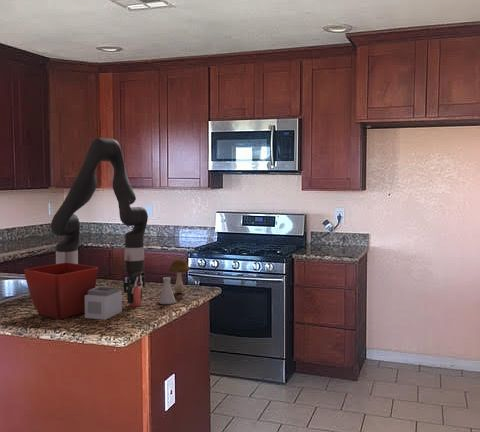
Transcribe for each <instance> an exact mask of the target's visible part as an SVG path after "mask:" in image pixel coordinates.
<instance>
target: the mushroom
mask: <svg viewBox="0 0 480 432" xmlns="http://www.w3.org/2000/svg"><path fill="white" fill-rule="evenodd" d="M190 269H191V268H190V266H189V265H188V263H187V261H186V260H185V259H183V258H176V259H174V260H173V261H172V262H171V264H170V265H169V266H168V271H169V272H172V273H176V281H175V285H174V292H175V293H177V294H182V293H183V292H184V291H185V290H184V289H185V288H184V283H183V279H182V278H183V277H182V273H187V272H189V271H190Z"/></svg>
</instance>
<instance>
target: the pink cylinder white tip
mask: <svg viewBox="0 0 480 432" xmlns="http://www.w3.org/2000/svg"><path fill="white" fill-rule="evenodd" d="M131 289H132V288H131ZM141 305H142V299H141V286H139V285H137V284H136V287H135V288H134V291H133V303H128V306H129V307H131V308H132V307H133V308H134V307H135V308H136V307H141Z"/></svg>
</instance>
